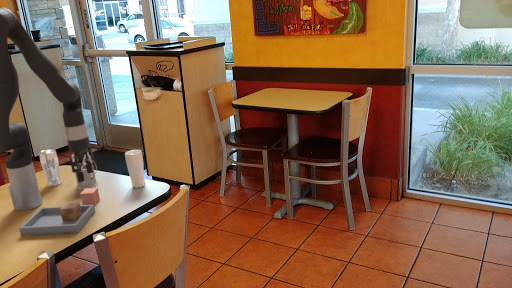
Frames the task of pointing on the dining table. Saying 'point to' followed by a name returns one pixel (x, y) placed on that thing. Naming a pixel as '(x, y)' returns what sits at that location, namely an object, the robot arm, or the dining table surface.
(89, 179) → the french press
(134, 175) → the drinking glass
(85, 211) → the slate tray
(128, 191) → the dining table surface
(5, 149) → the robot arm
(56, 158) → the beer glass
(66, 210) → the walnut block
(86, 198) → the brick block
